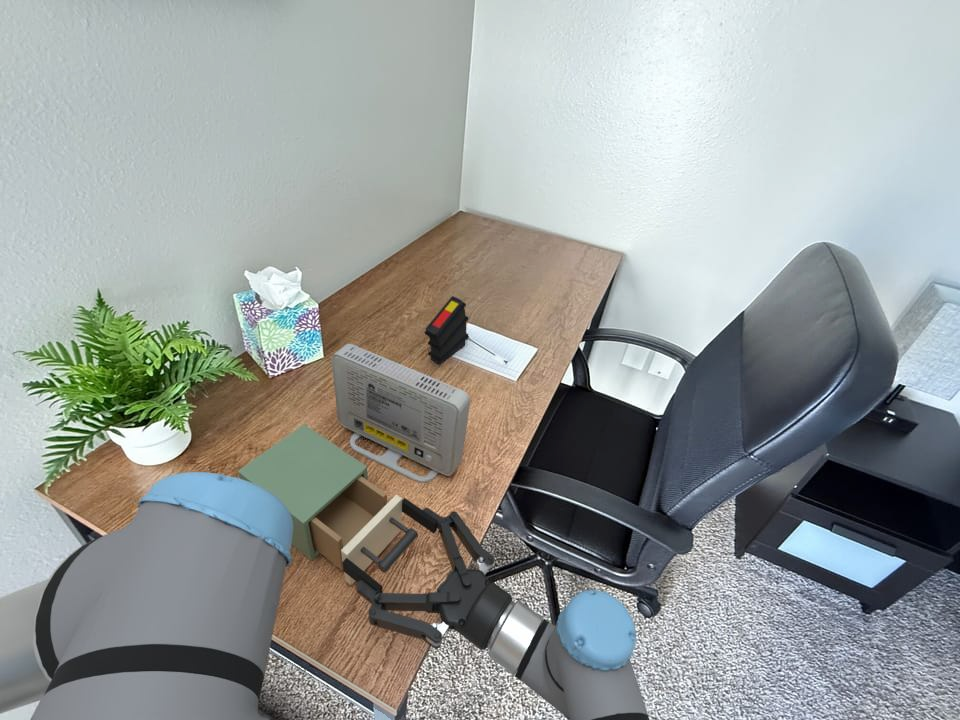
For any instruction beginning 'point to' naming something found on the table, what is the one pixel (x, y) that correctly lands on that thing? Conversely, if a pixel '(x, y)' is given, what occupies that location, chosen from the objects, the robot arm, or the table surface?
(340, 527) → the drawer
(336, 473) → the cabinet
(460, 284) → the table surface
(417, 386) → the network device
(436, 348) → the black electronic module
